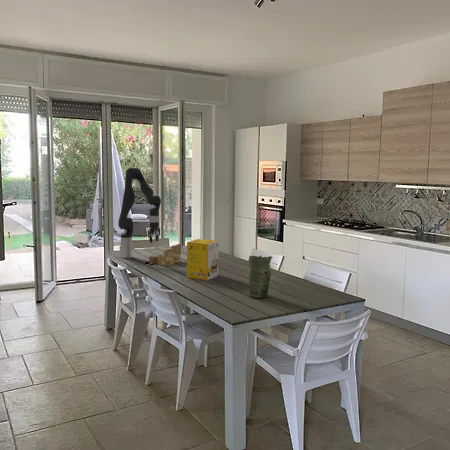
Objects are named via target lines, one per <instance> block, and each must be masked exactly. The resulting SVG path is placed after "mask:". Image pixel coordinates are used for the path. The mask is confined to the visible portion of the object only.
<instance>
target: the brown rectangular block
mask: <svg viewBox="0 0 450 450" xmlns="http://www.w3.org/2000/svg"><path fill="white" fill-rule="evenodd" d="M148 257H149V258H148V259H149V264H153V265H159V257H158V255H150V256H148Z"/></svg>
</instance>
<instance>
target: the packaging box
mask: <svg viewBox="0 0 450 450" xmlns="http://www.w3.org/2000/svg"><path fill="white" fill-rule="evenodd" d="M219 243H220V241H219V240H213V239H201V238H196V239H193V240H190V241H187V242H186V278H187V279H193V278H195V279H194V280H200V279H201V281H209V279H210V280H212V279H214V278H216V277H218V276H219V251H220V250H219V249H220V246H219V245H220V244H219Z"/></svg>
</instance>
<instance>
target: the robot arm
mask: <svg viewBox="0 0 450 450" xmlns="http://www.w3.org/2000/svg"><path fill="white" fill-rule="evenodd" d="M124 177H125V180H124V191H123V196H122V204H121V209H120V214H119V219H118V222H117V224H118V228H119V229H120V230H123V231H122V232H121V233H120V245H119V258H121V259H131V258H133V232H134V222H133V219H132V218H131V217H128V215H129V213H130V211H131V209H132V208H133V206H134V204H135V200H136V194H135V191H134V188H133V180H137V182H138V183H139V188H140V190H141V192H142V194H143V195H144V197H145V200H146V202H147V203H148V205H150V206H152V207H150V209H149V219H148V224H149V225H148V227H149V228H150V229H147V238H148V239H149V243H151V244H153V237H155V242H158V241H159V236H160V235H161V228H160V217H159V216H160V206H161V203H162V198H161V197H160V195H154V191H153V189H152V188H151V186H149V183H147V181H146V179H145V176H144V174H143V173H142V171H141V169H139V168H138V167H127V169H126V171H125V176H124Z"/></svg>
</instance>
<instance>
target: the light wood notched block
mask: <svg viewBox="0 0 450 450" xmlns="http://www.w3.org/2000/svg"><path fill="white" fill-rule="evenodd" d="M157 256H158V257H159V264H158V265H159V266H164V267H169V266H171V265H174V264H177V263H180V262H181V261H182V243H177V244H174V245H171V246H170V248H165V249H162V254H158V255H157Z"/></svg>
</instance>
